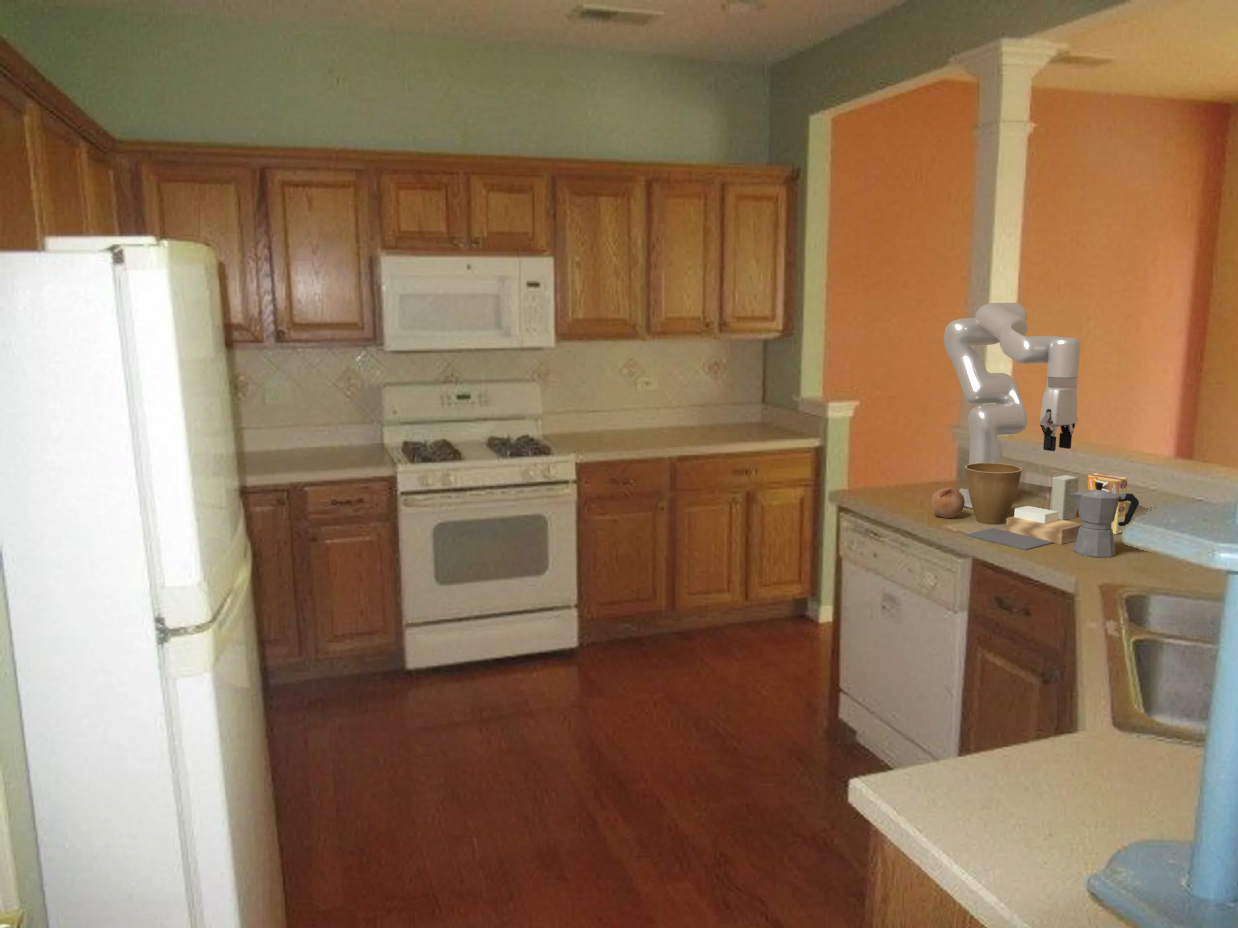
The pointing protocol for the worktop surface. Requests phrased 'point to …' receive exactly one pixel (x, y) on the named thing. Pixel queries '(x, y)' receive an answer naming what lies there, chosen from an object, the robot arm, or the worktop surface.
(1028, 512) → the white rectangular block
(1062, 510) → the skincare box
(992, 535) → the mat
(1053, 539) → the wooden block
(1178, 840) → the worktop surface
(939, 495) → the onion
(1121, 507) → the candy box
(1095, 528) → the coffeepot
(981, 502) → the plant pot
